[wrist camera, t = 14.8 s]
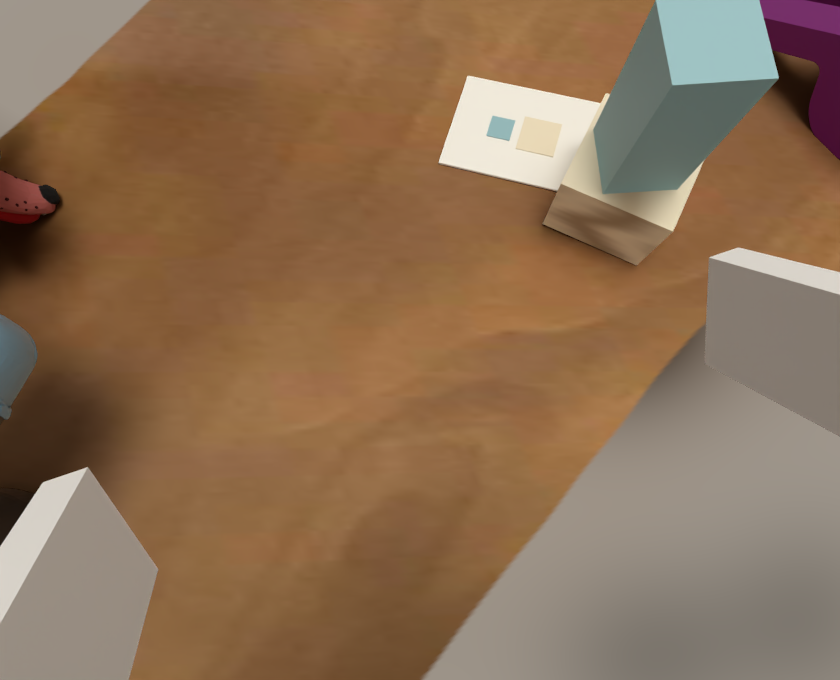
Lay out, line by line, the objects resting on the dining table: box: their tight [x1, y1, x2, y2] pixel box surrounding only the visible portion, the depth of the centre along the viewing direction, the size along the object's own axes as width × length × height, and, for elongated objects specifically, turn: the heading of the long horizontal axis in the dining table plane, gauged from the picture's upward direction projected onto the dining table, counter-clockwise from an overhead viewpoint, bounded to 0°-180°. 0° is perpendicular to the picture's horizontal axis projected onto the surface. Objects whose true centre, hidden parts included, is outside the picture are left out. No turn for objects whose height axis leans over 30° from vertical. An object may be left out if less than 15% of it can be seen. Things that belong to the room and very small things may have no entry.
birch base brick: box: [543, 93, 704, 265], centre depth 36 cm, size 8×8×6 cm
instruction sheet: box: [438, 76, 601, 192], centre depth 41 cm, size 12×9×1 cm
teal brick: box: [593, 0, 779, 194], centre depth 28 cm, size 5×5×10 cm
